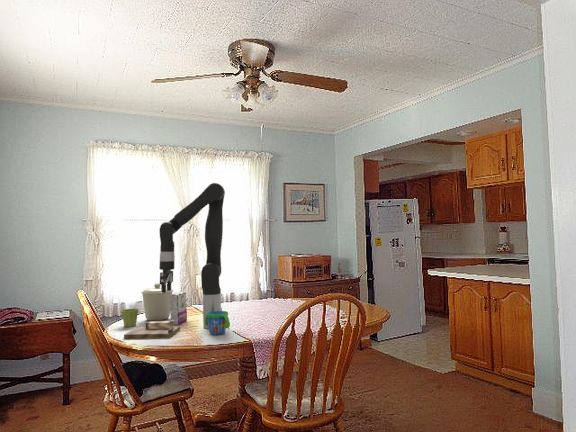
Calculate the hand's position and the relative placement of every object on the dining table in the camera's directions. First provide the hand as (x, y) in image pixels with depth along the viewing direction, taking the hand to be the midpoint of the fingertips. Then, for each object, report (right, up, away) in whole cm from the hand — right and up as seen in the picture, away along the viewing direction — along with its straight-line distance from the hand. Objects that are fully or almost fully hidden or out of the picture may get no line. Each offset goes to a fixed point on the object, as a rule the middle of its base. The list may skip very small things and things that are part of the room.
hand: (166, 291), depth 224 cm
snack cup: (+29, -18, -16) cm, 38 cm away
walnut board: (-3, -19, -14) cm, 23 cm away
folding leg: (0, -17, -9) cm, 19 cm away
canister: (-13, -21, +28) cm, 37 cm away
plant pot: (-22, -21, +10) cm, 32 cm away
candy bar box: (+3, -20, +15) cm, 25 cm away
